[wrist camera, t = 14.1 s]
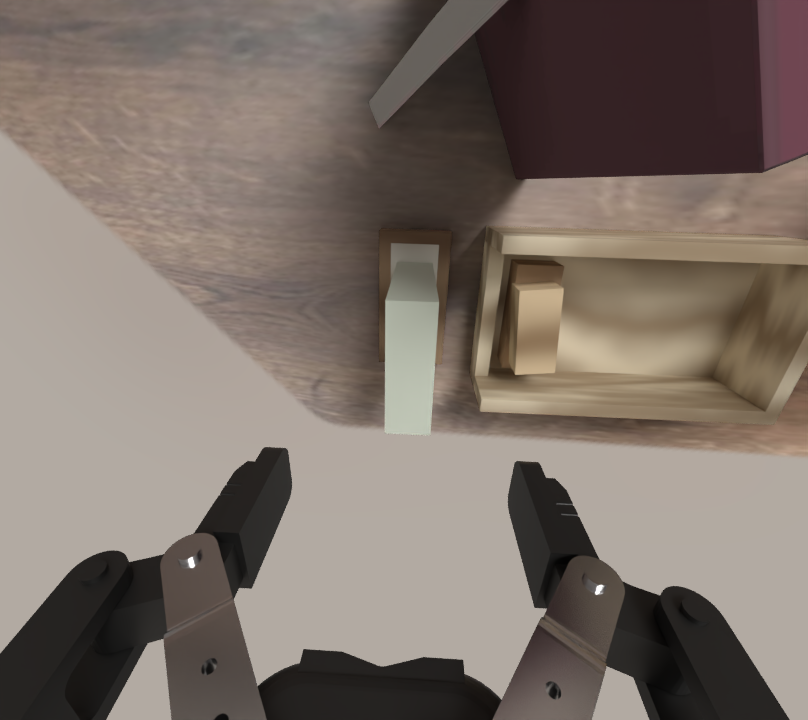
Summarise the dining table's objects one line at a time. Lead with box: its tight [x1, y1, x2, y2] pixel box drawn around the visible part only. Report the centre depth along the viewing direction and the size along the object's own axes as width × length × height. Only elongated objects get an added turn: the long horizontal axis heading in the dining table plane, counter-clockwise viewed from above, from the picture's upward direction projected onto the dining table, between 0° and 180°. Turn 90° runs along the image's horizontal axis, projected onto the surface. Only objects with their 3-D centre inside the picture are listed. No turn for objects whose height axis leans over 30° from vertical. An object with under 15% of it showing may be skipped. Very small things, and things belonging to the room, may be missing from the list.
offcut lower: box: [497, 259, 564, 368], centre depth 32 cm, size 9×4×2 cm, turn 178°
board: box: [379, 228, 452, 364], centre depth 34 cm, size 12×6×2 cm, turn 178°
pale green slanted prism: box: [385, 262, 439, 435], centre depth 28 cm, size 9×3×12 cm, turn 179°
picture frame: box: [369, 0, 808, 179], centre depth 16 cm, size 17×10×25 cm, turn 24°
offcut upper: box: [509, 281, 564, 375], centre depth 30 cm, size 7×3×2 cm, turn 4°
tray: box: [469, 226, 808, 425], centre depth 31 cm, size 14×24×7 cm, turn 88°
